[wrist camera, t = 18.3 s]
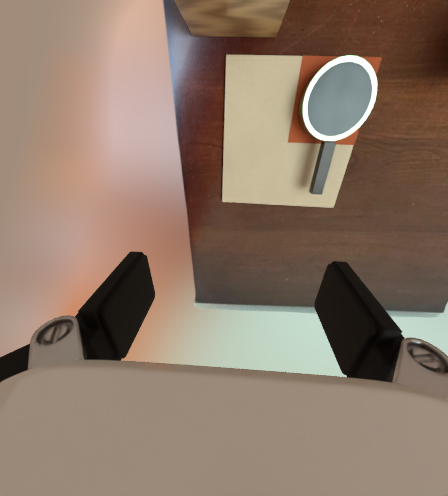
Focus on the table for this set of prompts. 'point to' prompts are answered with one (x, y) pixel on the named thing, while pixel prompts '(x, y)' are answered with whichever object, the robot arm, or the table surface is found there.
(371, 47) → the table surface
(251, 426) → the robot arm
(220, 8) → the block
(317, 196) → the mat
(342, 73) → the pan
